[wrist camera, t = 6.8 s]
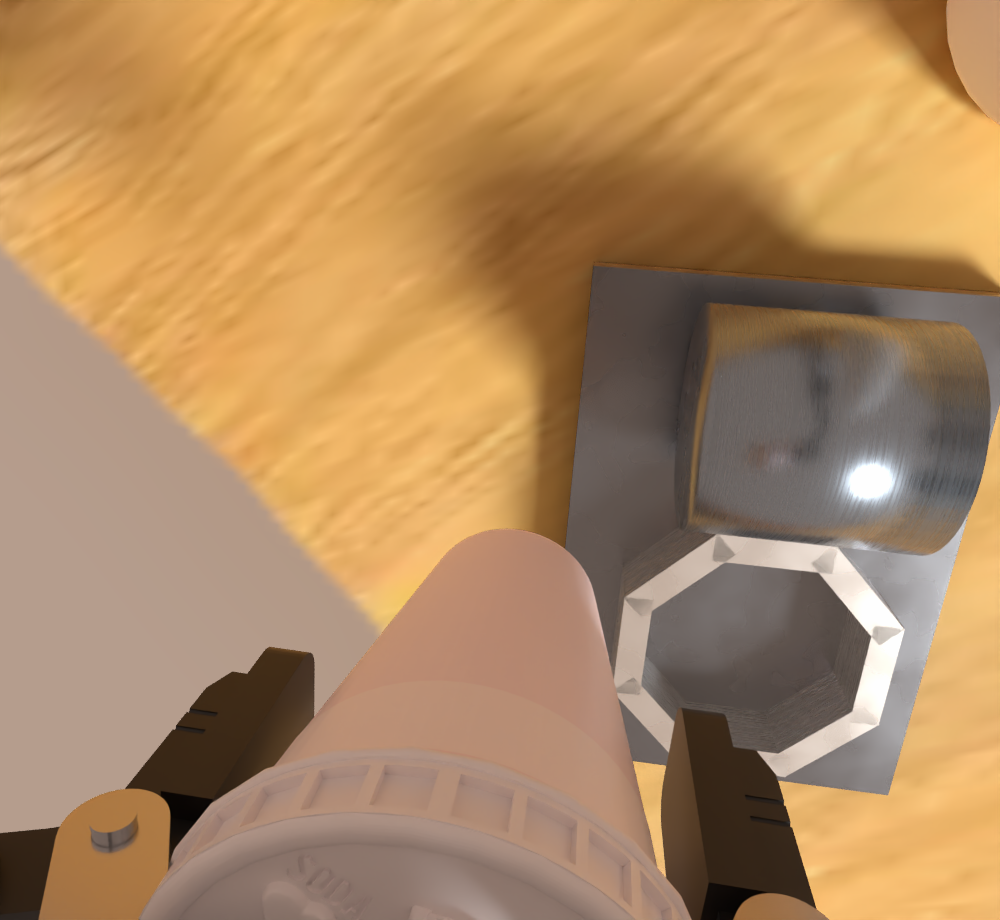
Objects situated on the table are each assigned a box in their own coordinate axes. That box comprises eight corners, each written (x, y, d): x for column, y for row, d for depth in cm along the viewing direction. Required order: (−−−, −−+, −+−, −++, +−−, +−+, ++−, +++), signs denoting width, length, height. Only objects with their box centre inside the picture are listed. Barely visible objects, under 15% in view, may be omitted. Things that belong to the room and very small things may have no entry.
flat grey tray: (593, 261, 28) (590, 291, 20) (1007, 293, 27) (1179, 338, 19) (547, 726, 35) (531, 887, 27) (875, 769, 33) (961, 952, 25)
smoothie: (344, 683, 18) (-311, 1903, 5) (400, 430, 16) (-475, 1431, 3) (610, 762, 18) (619, 2252, 5) (702, 517, 16) (1148, 2001, 3)
